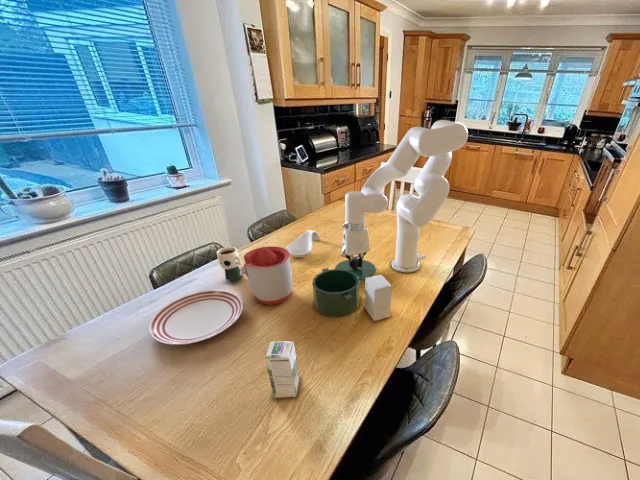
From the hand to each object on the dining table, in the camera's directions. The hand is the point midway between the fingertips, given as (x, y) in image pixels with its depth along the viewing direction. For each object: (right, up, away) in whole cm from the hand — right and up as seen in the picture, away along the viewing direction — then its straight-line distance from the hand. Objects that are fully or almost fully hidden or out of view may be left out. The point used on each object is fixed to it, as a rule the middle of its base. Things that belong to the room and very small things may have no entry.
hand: (355, 266), depth 127 cm
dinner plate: (-49, -20, -25) cm, 59 cm away
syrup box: (-14, -36, -46) cm, 60 cm away
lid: (0, -1, +1) cm, 2 cm away
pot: (-5, -14, -14) cm, 21 cm away
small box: (+9, -18, -18) cm, 27 cm away
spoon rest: (-26, +10, +21) cm, 35 cm away
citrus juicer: (-30, -12, -12) cm, 35 cm away
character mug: (-49, -6, -3) cm, 49 cm away
